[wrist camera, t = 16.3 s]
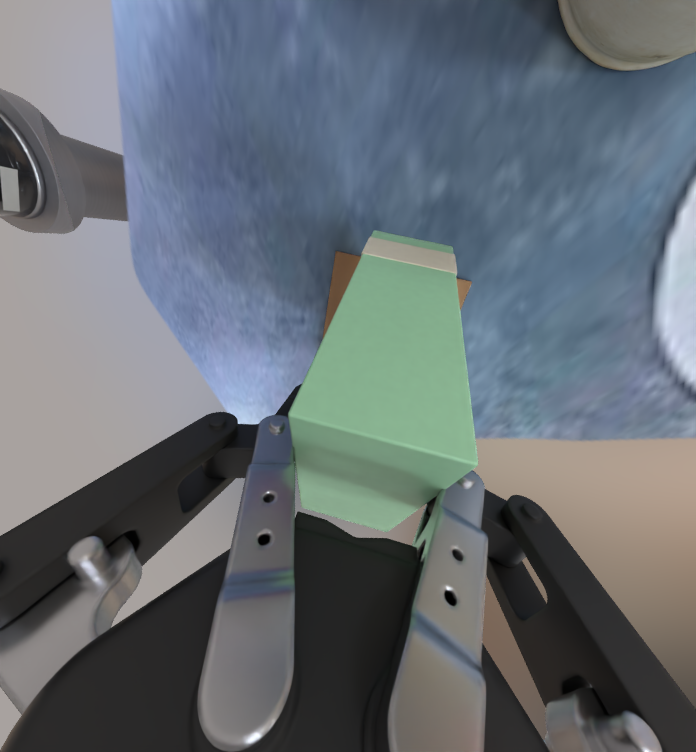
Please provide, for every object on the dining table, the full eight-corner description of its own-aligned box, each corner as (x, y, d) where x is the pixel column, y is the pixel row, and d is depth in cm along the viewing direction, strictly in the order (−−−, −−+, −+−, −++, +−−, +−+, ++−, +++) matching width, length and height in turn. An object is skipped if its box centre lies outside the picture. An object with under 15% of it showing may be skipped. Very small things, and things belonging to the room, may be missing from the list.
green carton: (300, 507, 14) (284, 413, 6) (353, 347, 23) (372, 228, 15) (388, 533, 14) (482, 466, 6) (406, 360, 23) (454, 245, 15)
